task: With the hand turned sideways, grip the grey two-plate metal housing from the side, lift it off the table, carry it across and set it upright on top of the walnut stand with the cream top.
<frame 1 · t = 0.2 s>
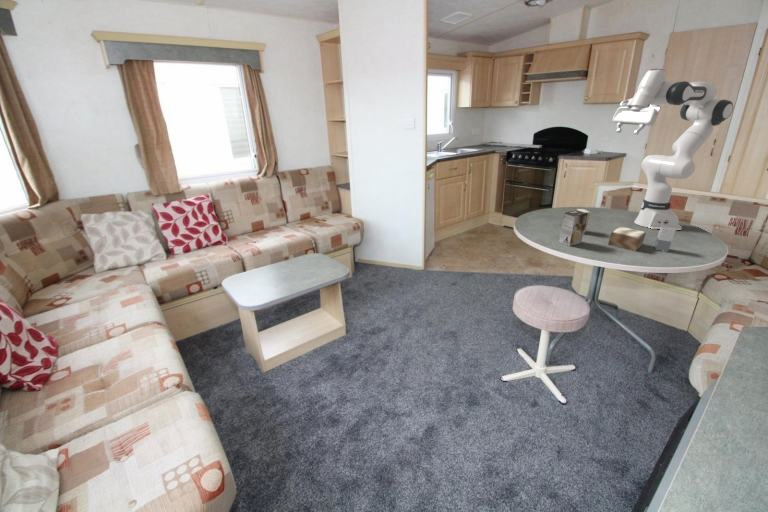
hand: (626, 133, 178), 52 cm above the table, tool tilted 20°, fingers open, 8 cm apart
metal housing: (660, 249, 176), on the table
walnut stand: (625, 244, 182), on the table
coffee box: (569, 243, 184), on the table
skincare box: (578, 232, 199), on the table
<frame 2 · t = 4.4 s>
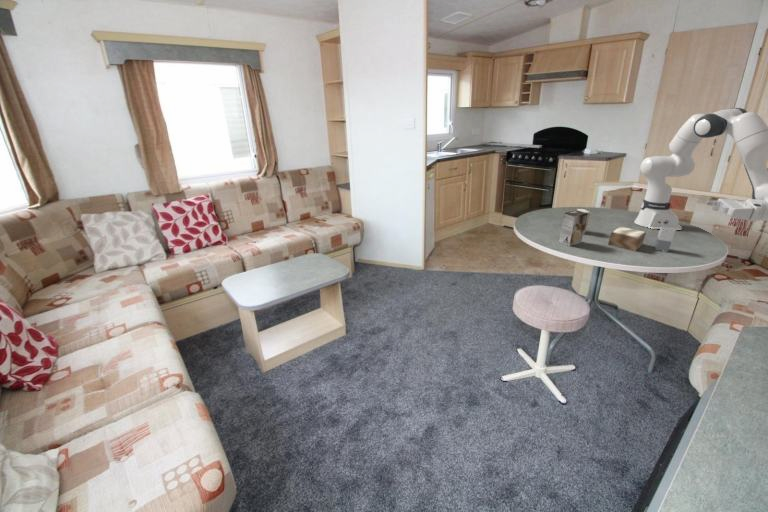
hand: (709, 205, 161), 24 cm above the table, tool horizontal, fingers open, 8 cm apart
nothing on the table moved.
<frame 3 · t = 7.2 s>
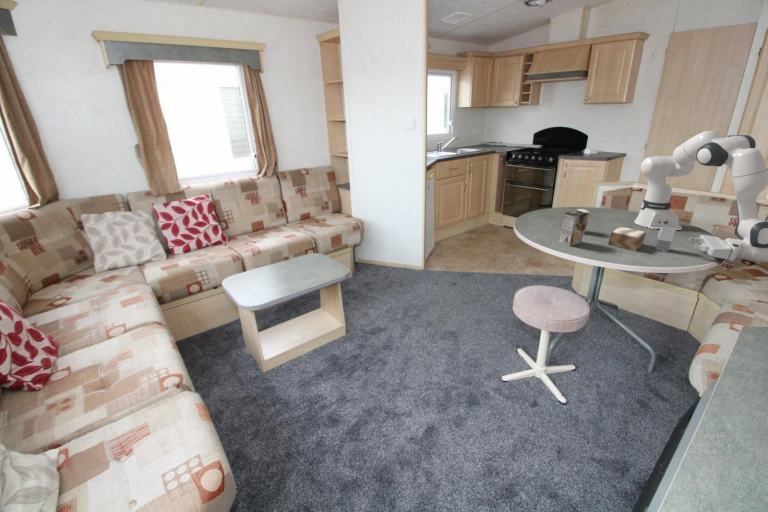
hand: (692, 242, 169), 5 cm above the table, tool horizontal, fingers open, 8 cm apart
nothing on the table moved.
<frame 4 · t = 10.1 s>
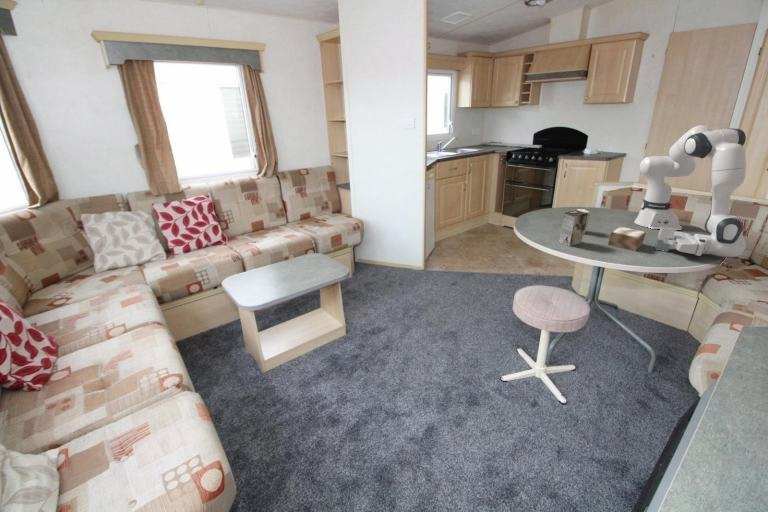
hand: (662, 238, 174), 6 cm above the table, tool horizontal, fingers closed on metal housing, 5 cm apart
metal housing: (660, 249, 176), on the table, touching gripper
everything else where it was.
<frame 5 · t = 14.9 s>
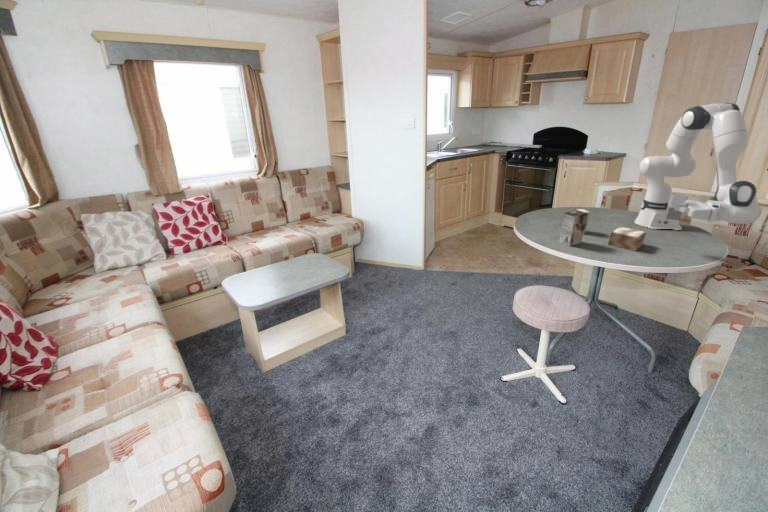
hand: (672, 206, 168), 22 cm above the table, tool horizontal, fingers closed on metal housing, 5 cm apart
metal housing: (671, 218, 170), point 16 cm above the table, touching gripper
everything else where it was.
when the fingers open (14 cm above the table, at t = 19.4 s): metal housing drops 1 cm, resting on walnut stand.
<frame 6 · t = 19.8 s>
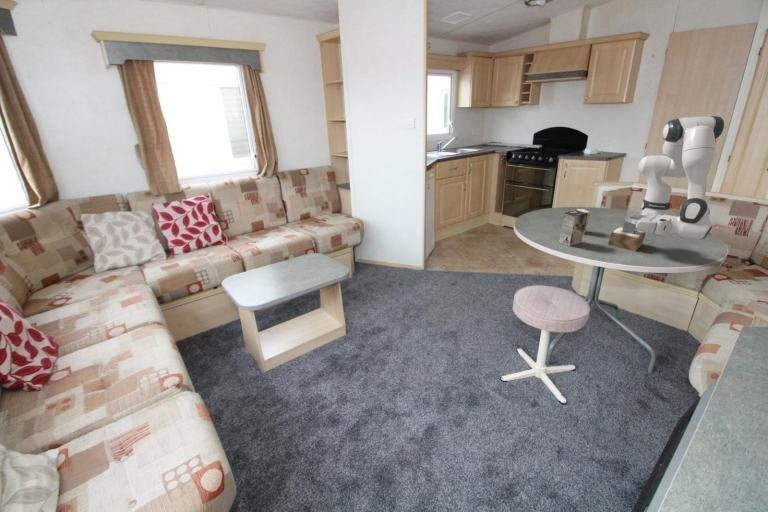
hand: (630, 217, 177), 14 cm above the table, tool horizontal, fingers open, 8 cm apart
metal housing: (629, 231, 179), point 7 cm above the table, touching walnut stand
everything else where it was.
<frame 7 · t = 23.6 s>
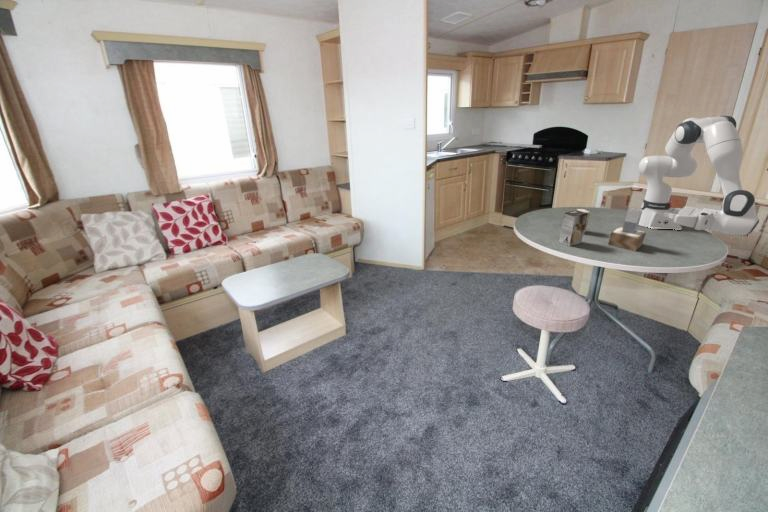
hand: (666, 211, 166), 20 cm above the table, tool horizontal, fingers open, 8 cm apart
nothing on the table moved.
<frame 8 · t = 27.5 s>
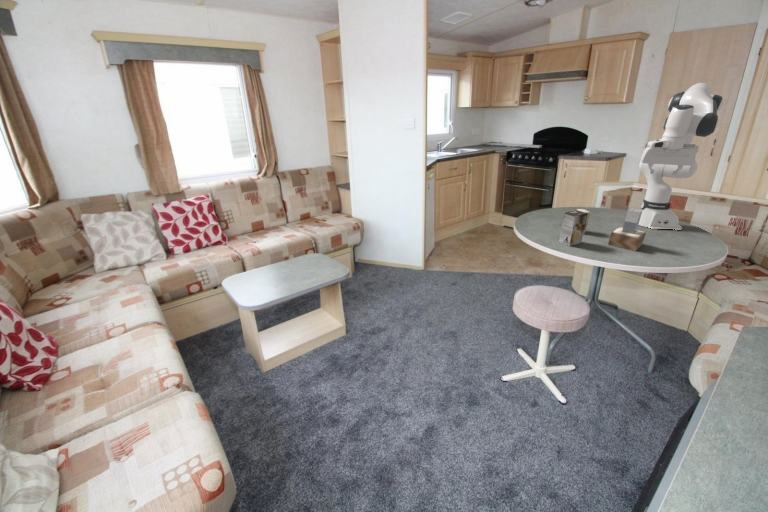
hand: (662, 174, 169), 35 cm above the table, tool pointing down, fingers open, 8 cm apart
nothing on the table moved.
at the end: metal housing inside the target area on the walnut stand (0.1 cm from its centre), point 7.0 cm above the walnut stand's base; metal housing tilted 0°; the gripper is holding nothing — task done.
